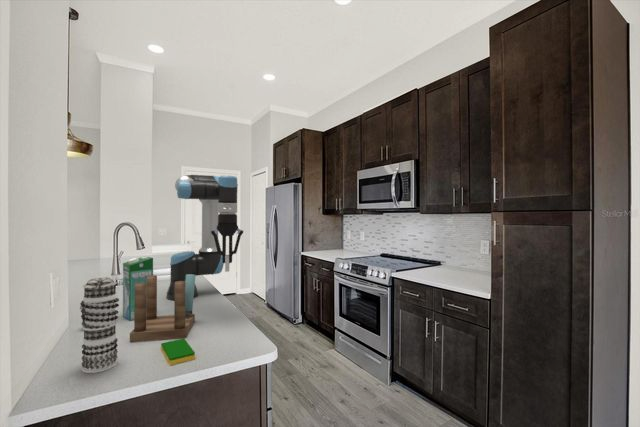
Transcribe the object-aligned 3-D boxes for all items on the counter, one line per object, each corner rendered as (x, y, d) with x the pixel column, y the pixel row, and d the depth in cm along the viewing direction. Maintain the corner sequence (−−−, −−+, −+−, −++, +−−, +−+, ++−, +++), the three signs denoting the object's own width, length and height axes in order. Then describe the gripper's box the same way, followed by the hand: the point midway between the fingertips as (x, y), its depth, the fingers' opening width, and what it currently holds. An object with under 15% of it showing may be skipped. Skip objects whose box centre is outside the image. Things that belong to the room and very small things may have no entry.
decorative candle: (93, 376, 86) (93, 283, 86) (72, 369, 89) (73, 280, 89) (126, 362, 94) (126, 277, 94) (105, 356, 98) (106, 275, 98)
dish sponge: (184, 345, 108) (184, 337, 108) (195, 360, 96) (195, 352, 96) (160, 350, 103) (160, 342, 103) (169, 367, 92) (169, 358, 92)
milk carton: (122, 315, 136) (122, 257, 136) (145, 311, 143) (145, 255, 143) (129, 320, 130) (129, 259, 130) (153, 315, 137) (153, 257, 137)
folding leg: (183, 308, 129) (186, 274, 129) (193, 308, 129) (196, 274, 130) (181, 311, 125) (185, 275, 125) (191, 311, 126) (194, 276, 126)
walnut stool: (147, 323, 127) (147, 275, 127) (195, 320, 131) (195, 273, 131) (129, 342, 109) (130, 285, 109) (185, 337, 113) (186, 283, 113)
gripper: (209, 213, 125) (209, 273, 126) (243, 213, 128) (243, 272, 129) (212, 213, 133) (211, 269, 133) (244, 213, 136) (243, 268, 136)
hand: (227, 270), depth 131 cm, fingers closed
